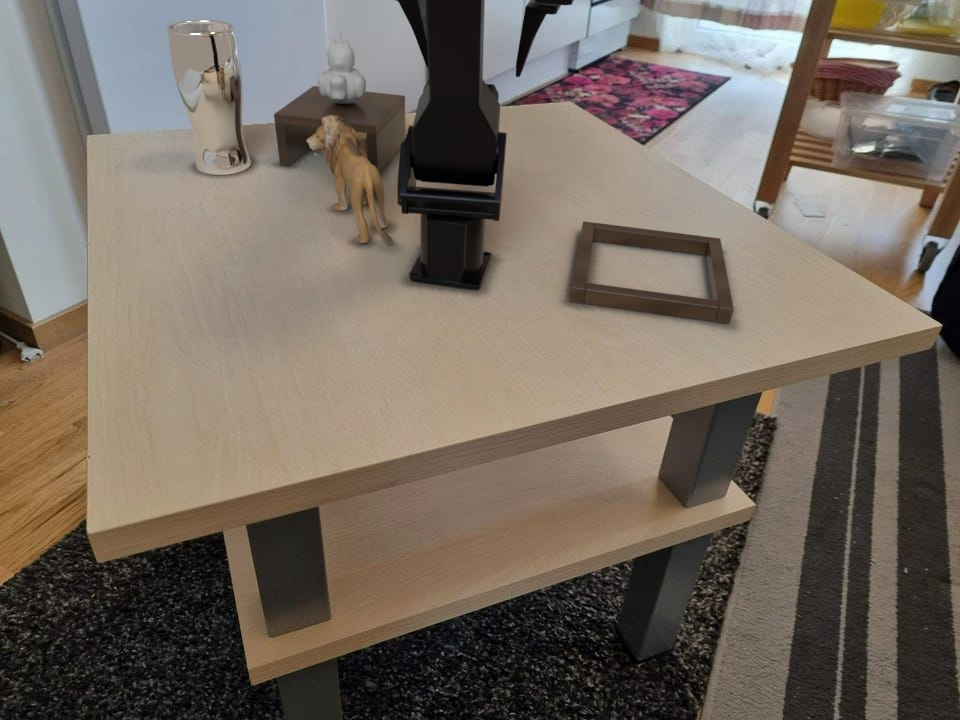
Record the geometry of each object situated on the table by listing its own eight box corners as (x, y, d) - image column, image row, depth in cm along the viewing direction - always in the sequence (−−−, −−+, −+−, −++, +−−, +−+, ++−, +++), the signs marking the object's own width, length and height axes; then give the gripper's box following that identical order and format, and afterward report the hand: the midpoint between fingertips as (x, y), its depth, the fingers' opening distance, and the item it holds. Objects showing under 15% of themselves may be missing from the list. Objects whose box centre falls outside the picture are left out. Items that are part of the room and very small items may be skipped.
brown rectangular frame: (729, 324, 60) (733, 309, 60) (569, 302, 62) (571, 287, 61) (716, 251, 71) (720, 238, 70) (581, 234, 73) (583, 221, 72)
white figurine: (370, 97, 87) (367, 26, 82) (361, 114, 82) (357, 39, 77) (326, 94, 87) (320, 23, 82) (314, 111, 82) (307, 36, 77)
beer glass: (232, 180, 80) (208, 36, 71) (179, 170, 81) (149, 28, 72) (266, 160, 85) (248, 24, 76) (216, 151, 87) (193, 16, 78)
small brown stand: (377, 177, 82) (375, 125, 79) (279, 165, 84) (273, 114, 80) (405, 142, 92) (405, 95, 88) (317, 132, 93) (313, 85, 90)
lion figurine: (308, 197, 77) (299, 113, 72) (353, 188, 79) (348, 107, 74) (368, 254, 67) (363, 162, 62) (417, 242, 70) (417, 152, 64)
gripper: (591, -109, 69) (571, 61, 78) (404, -122, 71) (406, 45, 80) (583, -103, 60) (561, 89, 69) (369, -117, 62) (376, 70, 71)
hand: (473, 71), depth 73 cm, fingers open, 9 cm apart
